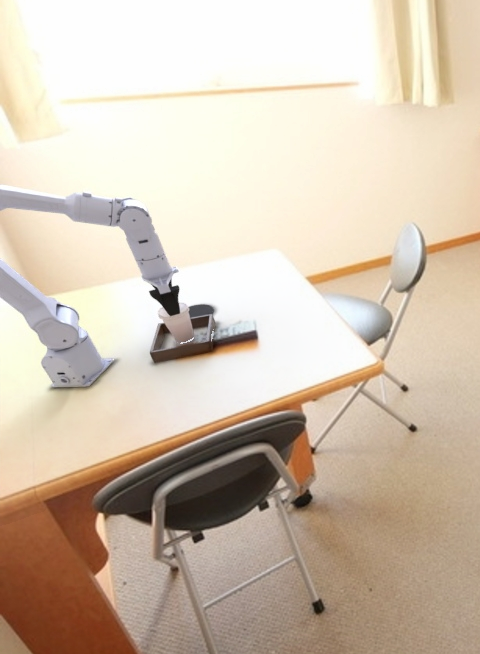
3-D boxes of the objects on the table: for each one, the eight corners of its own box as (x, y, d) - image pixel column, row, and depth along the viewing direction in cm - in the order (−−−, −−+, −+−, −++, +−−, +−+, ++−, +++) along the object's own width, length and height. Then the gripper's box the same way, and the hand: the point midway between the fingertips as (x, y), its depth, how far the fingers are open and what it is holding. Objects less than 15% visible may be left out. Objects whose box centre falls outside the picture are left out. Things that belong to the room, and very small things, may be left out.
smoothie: (179, 353, 117) (157, 303, 109) (167, 343, 120) (144, 294, 112) (206, 340, 121) (186, 292, 113) (193, 331, 124) (174, 283, 117)
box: (212, 351, 118) (208, 341, 116) (154, 363, 114) (149, 352, 112) (215, 323, 128) (212, 313, 126) (162, 333, 124) (158, 323, 122)
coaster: (204, 323, 128) (204, 321, 128) (169, 323, 127) (168, 322, 127) (219, 305, 135) (218, 304, 135) (186, 305, 135) (185, 304, 135)
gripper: (176, 262, 105) (197, 315, 112) (165, 239, 114) (185, 290, 122) (137, 271, 101) (162, 325, 109) (129, 247, 111) (152, 298, 118)
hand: (172, 307), depth 115 cm, fingers open, 7 cm apart
